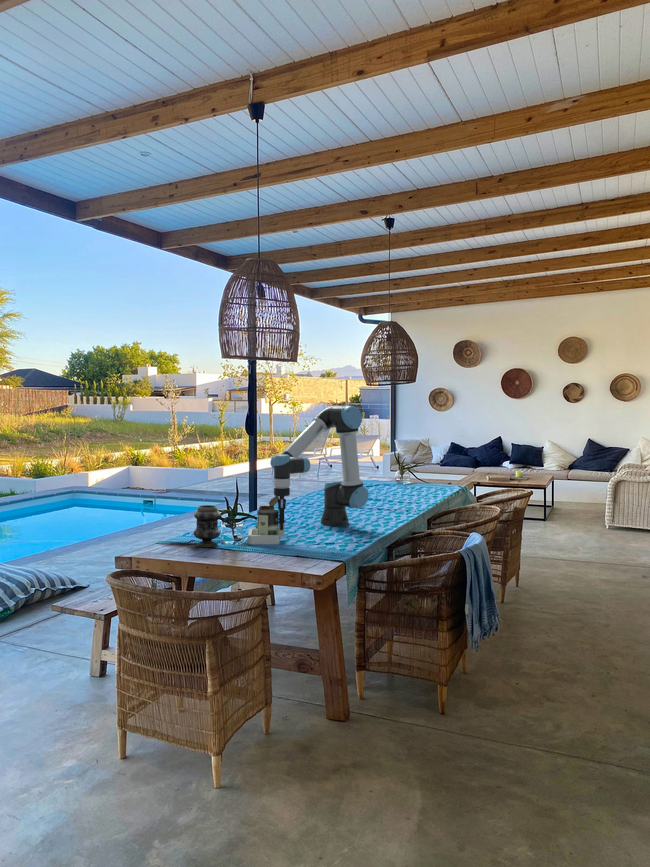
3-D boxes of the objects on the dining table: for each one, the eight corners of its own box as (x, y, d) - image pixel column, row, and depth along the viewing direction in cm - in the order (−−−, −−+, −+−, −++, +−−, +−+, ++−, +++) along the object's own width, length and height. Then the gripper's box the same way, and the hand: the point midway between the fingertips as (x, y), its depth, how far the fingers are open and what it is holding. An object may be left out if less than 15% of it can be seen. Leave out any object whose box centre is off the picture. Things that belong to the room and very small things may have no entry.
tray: (279, 536, 303) (279, 528, 303) (279, 544, 287) (279, 535, 287) (249, 536, 302) (249, 528, 302) (247, 544, 286) (247, 535, 286)
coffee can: (279, 537, 300) (279, 509, 299) (278, 542, 290) (278, 513, 289) (257, 537, 300) (258, 508, 299) (256, 542, 290) (256, 512, 289)
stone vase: (224, 546, 282) (224, 507, 281) (198, 549, 276) (198, 509, 275) (215, 541, 292) (215, 503, 291) (190, 543, 286) (190, 505, 285)
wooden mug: (270, 531, 314) (271, 496, 313) (252, 527, 323) (252, 493, 322) (283, 529, 321) (283, 494, 320) (264, 525, 329) (265, 491, 328)
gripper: (274, 485, 300) (273, 533, 301) (273, 489, 287) (273, 539, 288) (289, 485, 301) (289, 533, 302) (290, 489, 288) (289, 539, 289)
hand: (281, 536), depth 295 cm, fingers closed
